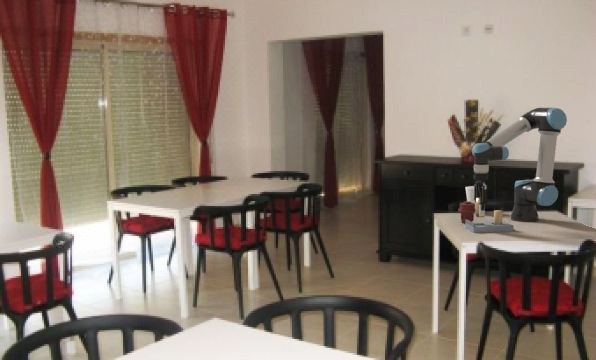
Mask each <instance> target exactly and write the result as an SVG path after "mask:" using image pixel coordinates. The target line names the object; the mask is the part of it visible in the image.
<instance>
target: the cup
mask: <svg viewBox="0 0 596 360" xmlns="http://www.w3.org/2000/svg"><path fill="white" fill-rule="evenodd" d="M465 193H466V194H465V195H466V201H470V202H471V203H474V204H475V209H476V202H475V201H474V185H472V186H471V185H469V186H465ZM474 215H476V213H474Z"/></svg>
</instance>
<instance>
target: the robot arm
mask: <svg viewBox="0 0 596 360" xmlns="http://www.w3.org/2000/svg"><path fill="white" fill-rule="evenodd" d="M567 120H568V119H567V115H566V113H565V112H564V110H563V109H561V108H559V107H536V108H533V109H531V110H529V111H528V112H525V113H524V114H523V115H521V116H519V117H518V118H517V120H516V121H515V122H514V123H512V124H510V125H509V126H507V127H506V128H504V129H502V130H501V131H500V132H498V133H497V134H495V135H494V136H492V137H491V138H489V139H487V140H486V141H485V142H482V143H481V142H478V143H476V144H474V146H472V149H471V153H472V156H473V179H474V181H475V182H473V186H474V201H475V202H476V198H480V203H479V216H484V217H485V215H486V210H485V209H486V205H487V204H488V188H489V186H488V184H487V183H486V181H488V180H489V170H490V169H489V168H490V166H489V165H490V164H489V163H490V162H491V161H492V162H493V161H494V162H495V161H505V160H507V159H508V158H509V156H510V151H509V148H508V147H507V146H506V145H507V144H509V143H511V142H512V141H513V140H515V139H517V138H518V137H520V136H521V135H523V134H524V133H525V132H526V133H529V132H530V131H532V130H535V129H536V130H538V133H539V135H540V137H539V147H538V155H537V163H536V173H535V177H534V178H533V179H523V180H516V181H515V183H514V191H513V192H514V193H513V194H514V198H513V199H514V201H513V202H514V204H513V205H514V206H513V208H512V211H511V214H510V220H512V221H516V222H525V223H526V222H527V223H528V222H529V223H530V222H536V221H539V213H538V210H537V207H536V205H538V206H544V207H545V206H546V207H547V206H549V207H550V206H552V205H553V204H555V202H556V201H557V199H558V196H559V190H558V189H557V187H556V186H555V184H556V182H555V181H554V179H553V178H554V177H553V176H554V167H555V158H556V150H557V140H558V136H559V135H560V134H561V132H562V129H564V128H565V126H566V125H567V122H568V121H567Z"/></svg>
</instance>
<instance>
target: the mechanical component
mask: <svg viewBox="0 0 596 360" xmlns="http://www.w3.org/2000/svg"><path fill="white" fill-rule="evenodd" d="M457 210H458V211H457V212H459V213H460V221H461V223H462V224H465V220H466V219H467V220H469V221H471V222H473V221H474V219H475V217H474V215H475V214H474V213H476V209H475V204H474V203H471V202H470V201H467V200H466V201H463V202H460V203H459V208H458V209H457Z"/></svg>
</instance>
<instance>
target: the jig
mask: <svg viewBox="0 0 596 360" xmlns="http://www.w3.org/2000/svg"><path fill="white" fill-rule="evenodd" d="M464 224H465V227H464V228H465V229H466V230H468V231H469V232H472V233H475V234H478V233H498V232H500V233H501V231H502V232H514V225H513V224H512V223H509V222H507V221H504V220H503V210H500V209H499V210H498V209H497V210H495V209H494V210H493V221H479V222H476V221H475V222H473V221H472V222H471V221H469V220H467V219H466V220H465V223H464Z"/></svg>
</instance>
